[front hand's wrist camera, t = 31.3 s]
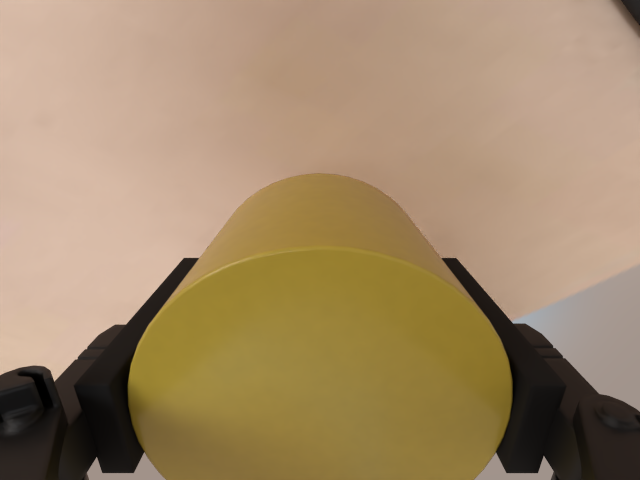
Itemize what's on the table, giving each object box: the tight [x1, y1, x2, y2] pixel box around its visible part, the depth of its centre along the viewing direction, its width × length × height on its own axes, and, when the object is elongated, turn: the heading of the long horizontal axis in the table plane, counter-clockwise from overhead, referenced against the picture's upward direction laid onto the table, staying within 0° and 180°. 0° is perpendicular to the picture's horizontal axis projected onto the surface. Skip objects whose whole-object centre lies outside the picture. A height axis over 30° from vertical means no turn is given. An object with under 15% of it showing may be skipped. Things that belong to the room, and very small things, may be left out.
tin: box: [128, 174, 513, 480], centre depth 12 cm, size 9×9×7 cm
